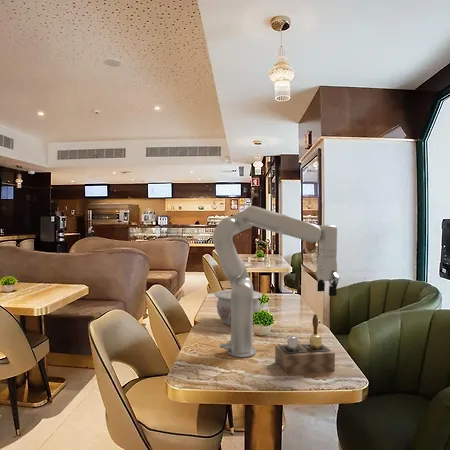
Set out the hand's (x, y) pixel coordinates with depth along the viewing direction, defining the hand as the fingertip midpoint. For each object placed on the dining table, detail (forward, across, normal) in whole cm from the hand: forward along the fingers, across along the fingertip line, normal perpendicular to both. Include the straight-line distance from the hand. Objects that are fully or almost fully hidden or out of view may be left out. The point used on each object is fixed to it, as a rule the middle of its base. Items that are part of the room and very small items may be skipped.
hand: (326, 293), depth 152 cm
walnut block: (+27, +8, -14) cm, 32 cm away
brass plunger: (+22, +9, -9) cm, 25 cm away
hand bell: (+27, -8, 0) cm, 29 cm away
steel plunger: (+22, +8, -19) cm, 30 cm away
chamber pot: (+28, -55, -24) cm, 66 cm away
